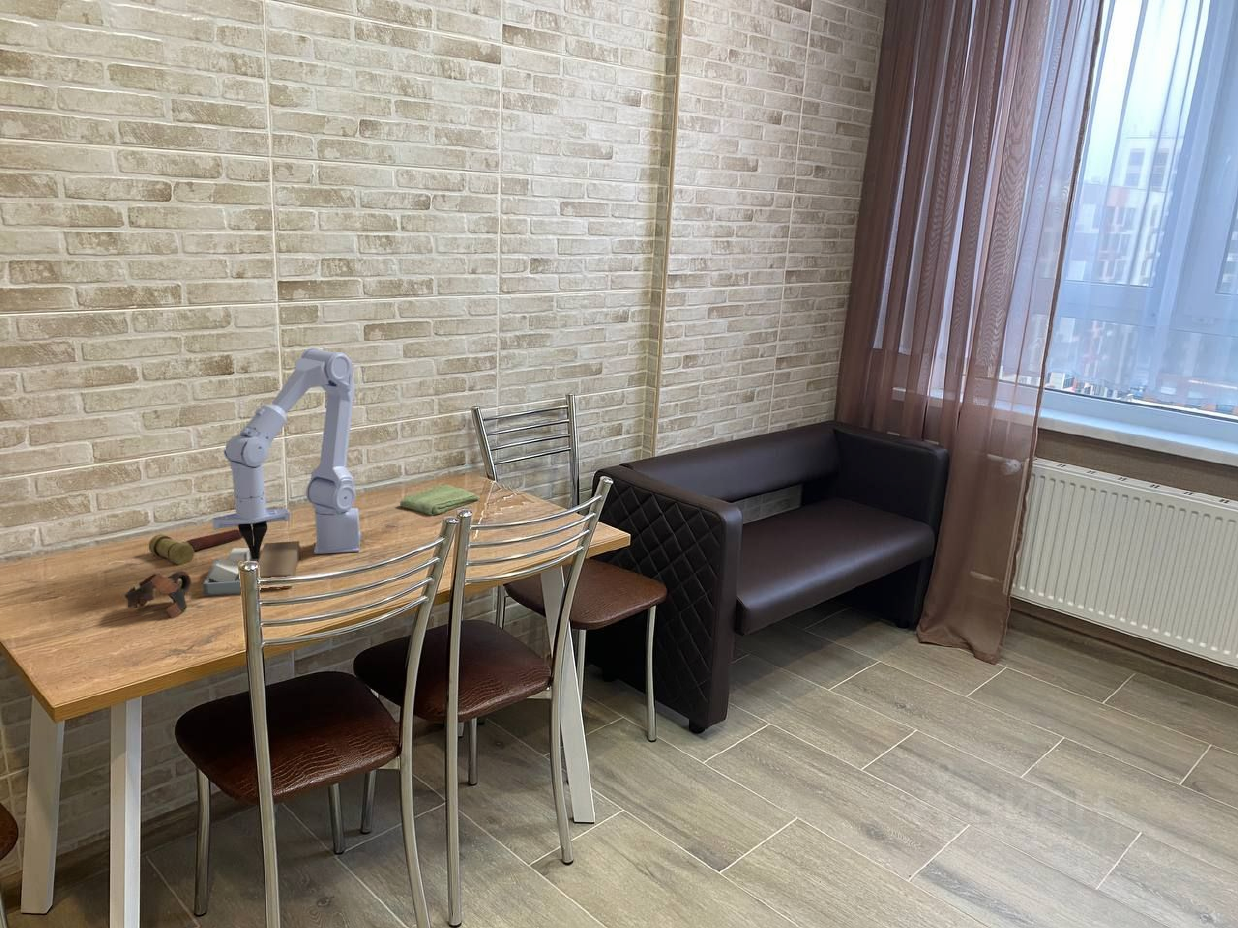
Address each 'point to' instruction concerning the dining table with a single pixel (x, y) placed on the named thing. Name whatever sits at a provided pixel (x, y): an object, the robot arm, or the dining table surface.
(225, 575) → the white squarish block
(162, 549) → the gavel
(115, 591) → the dining table surface
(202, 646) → the dining table surface
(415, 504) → the washcloth
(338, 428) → the robot arm
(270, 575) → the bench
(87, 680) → the dining table surface
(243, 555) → the tile
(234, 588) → the tray
